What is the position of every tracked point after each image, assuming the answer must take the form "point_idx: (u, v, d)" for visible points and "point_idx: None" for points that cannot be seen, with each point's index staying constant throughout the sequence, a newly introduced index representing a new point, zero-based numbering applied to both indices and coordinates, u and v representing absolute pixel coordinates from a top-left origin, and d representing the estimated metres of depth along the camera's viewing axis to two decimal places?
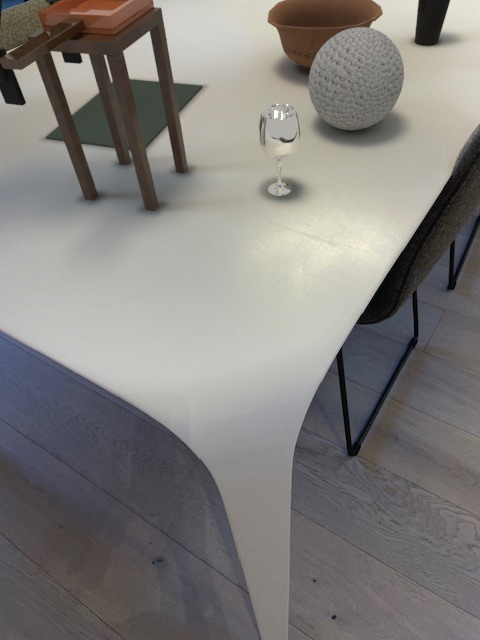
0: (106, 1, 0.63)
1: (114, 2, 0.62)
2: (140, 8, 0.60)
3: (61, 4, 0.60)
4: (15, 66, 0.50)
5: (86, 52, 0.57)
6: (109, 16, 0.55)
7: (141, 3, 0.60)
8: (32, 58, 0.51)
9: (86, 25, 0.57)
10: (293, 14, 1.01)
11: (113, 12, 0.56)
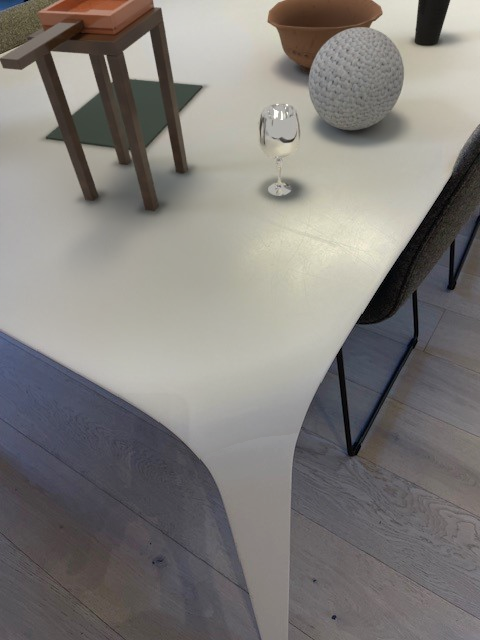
0: (106, 1, 0.63)
1: (114, 2, 0.62)
2: (140, 8, 0.60)
3: (61, 4, 0.60)
4: (15, 66, 0.50)
5: (86, 52, 0.57)
6: (109, 16, 0.55)
7: (141, 3, 0.60)
8: (32, 58, 0.51)
9: (86, 25, 0.57)
10: (293, 14, 1.01)
11: (113, 12, 0.56)
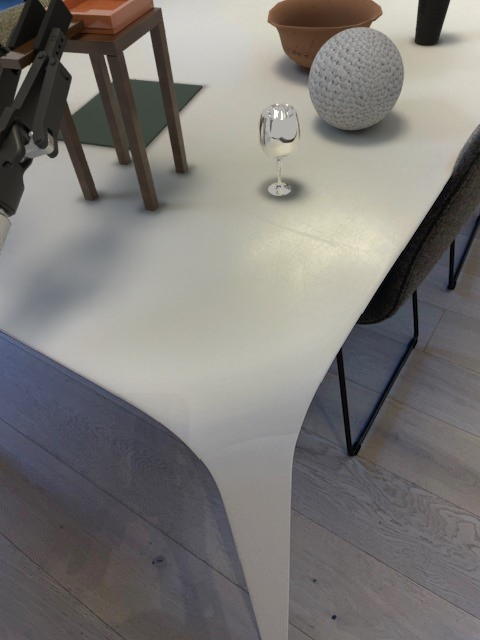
0: (106, 1, 0.63)
1: (114, 2, 0.62)
2: (140, 8, 0.60)
3: None
4: (15, 66, 0.50)
5: (86, 52, 0.57)
6: (109, 16, 0.55)
7: (141, 3, 0.60)
8: (32, 58, 0.51)
9: (86, 25, 0.57)
10: (293, 14, 1.01)
11: (113, 12, 0.56)
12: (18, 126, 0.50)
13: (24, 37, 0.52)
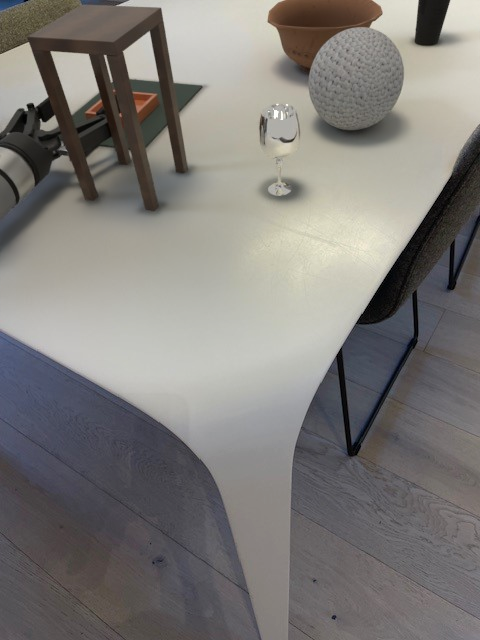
0: None
1: None
2: (150, 108, 0.92)
3: (99, 104, 0.93)
4: None
5: (86, 52, 0.57)
6: None
7: (151, 104, 0.92)
8: None
9: None
10: (293, 14, 1.01)
11: None
12: (58, 136, 0.76)
13: (48, 106, 0.83)
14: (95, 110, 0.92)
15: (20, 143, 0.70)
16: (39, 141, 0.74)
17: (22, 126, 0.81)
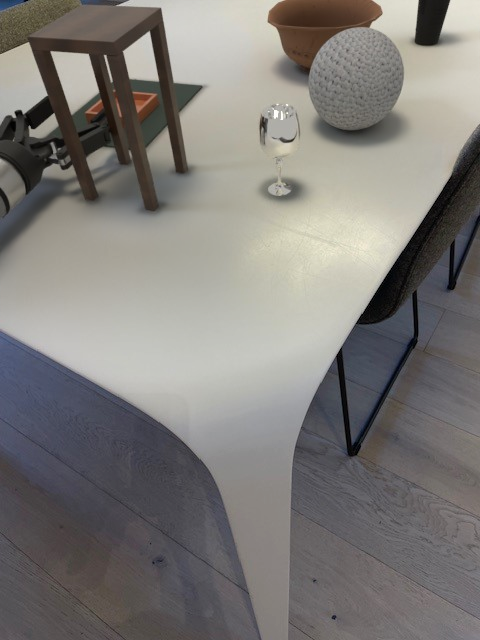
0: None
1: None
2: (150, 108, 0.92)
3: (99, 104, 0.93)
4: None
5: (86, 52, 0.57)
6: None
7: (151, 104, 0.92)
8: None
9: None
10: (293, 14, 1.01)
11: None
12: (50, 143, 0.75)
13: (37, 113, 0.82)
14: (95, 110, 0.92)
15: (11, 151, 0.68)
16: (30, 149, 0.73)
17: (11, 133, 0.80)
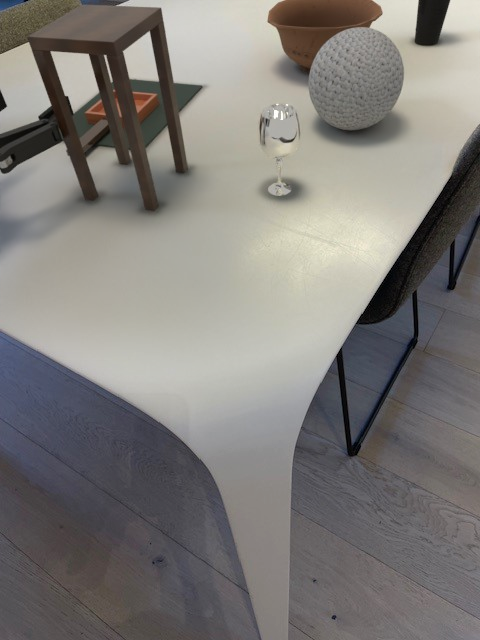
0: None
1: None
2: (150, 108, 0.92)
3: (99, 104, 0.93)
4: None
5: (86, 52, 0.57)
6: None
7: (151, 104, 0.92)
8: (85, 149, 0.83)
9: None
10: (293, 14, 1.01)
11: None
12: None
13: None
14: (95, 110, 0.92)
15: None
16: None
17: None
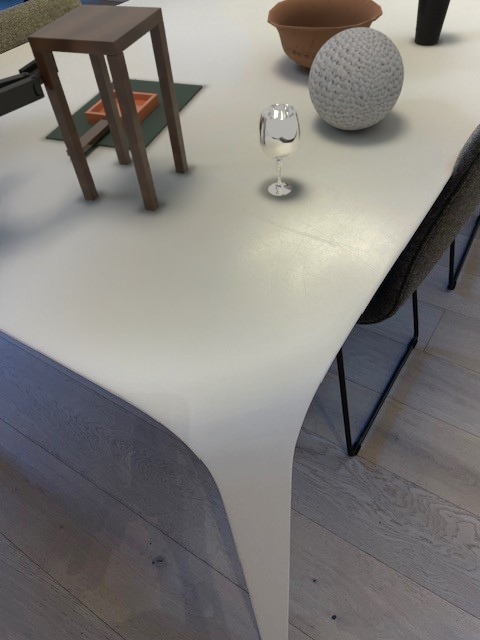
0: None
1: None
2: (150, 108, 0.92)
3: (99, 104, 0.93)
4: None
5: (86, 52, 0.57)
6: None
7: (151, 104, 0.92)
8: (85, 149, 0.83)
9: None
10: (293, 14, 1.01)
11: None
12: None
13: None
14: (95, 110, 0.92)
15: None
16: None
17: None
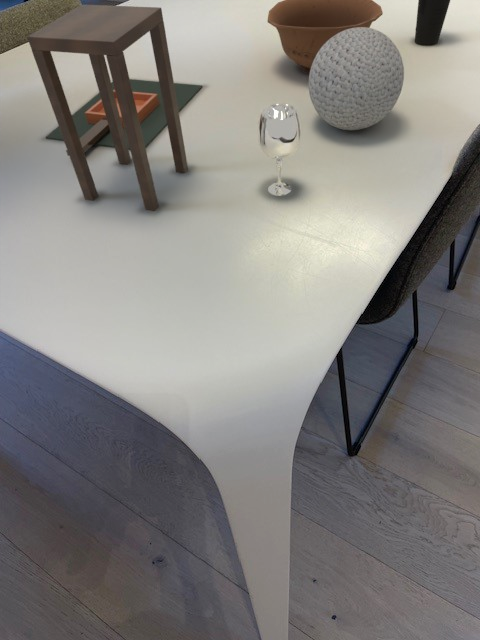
0: None
1: None
2: (150, 108, 0.92)
3: (99, 104, 0.93)
4: None
5: (86, 52, 0.57)
6: None
7: (151, 104, 0.92)
8: (85, 149, 0.83)
9: None
10: (293, 14, 1.01)
11: None
12: None
13: None
14: (95, 110, 0.92)
15: None
16: None
17: None
